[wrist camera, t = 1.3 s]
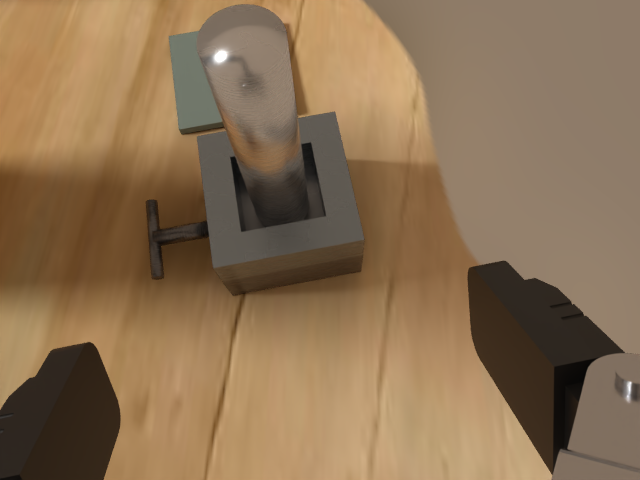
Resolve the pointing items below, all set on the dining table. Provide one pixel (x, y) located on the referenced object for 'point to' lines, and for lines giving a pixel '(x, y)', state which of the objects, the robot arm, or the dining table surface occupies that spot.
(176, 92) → the mat
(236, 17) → the steel pin
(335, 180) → the vise
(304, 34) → the dining table surface
